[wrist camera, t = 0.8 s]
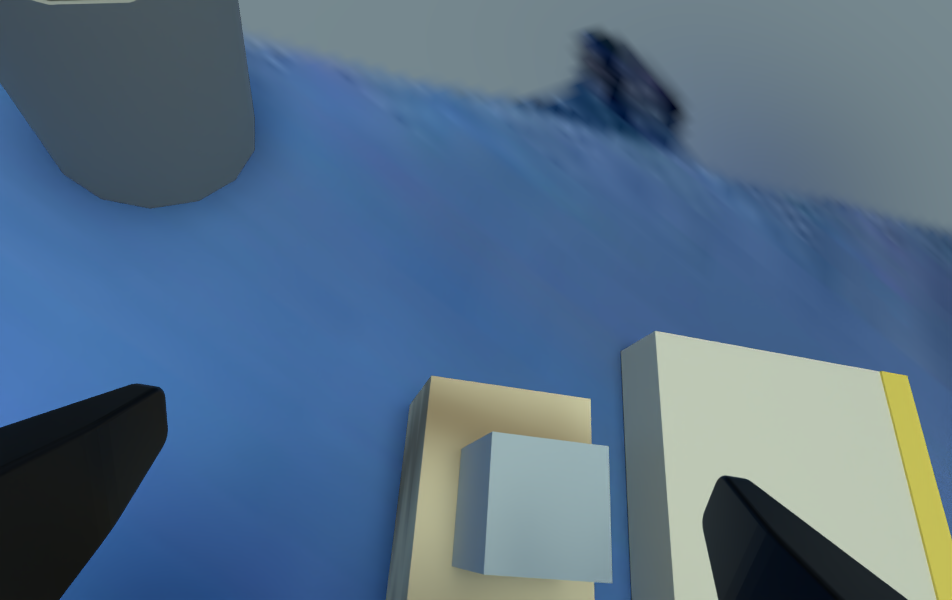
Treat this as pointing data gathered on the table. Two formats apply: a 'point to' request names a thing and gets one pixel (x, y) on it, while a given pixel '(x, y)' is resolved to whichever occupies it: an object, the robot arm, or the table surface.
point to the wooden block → (437, 476)
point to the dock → (775, 461)
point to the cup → (133, 93)
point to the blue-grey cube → (534, 509)
